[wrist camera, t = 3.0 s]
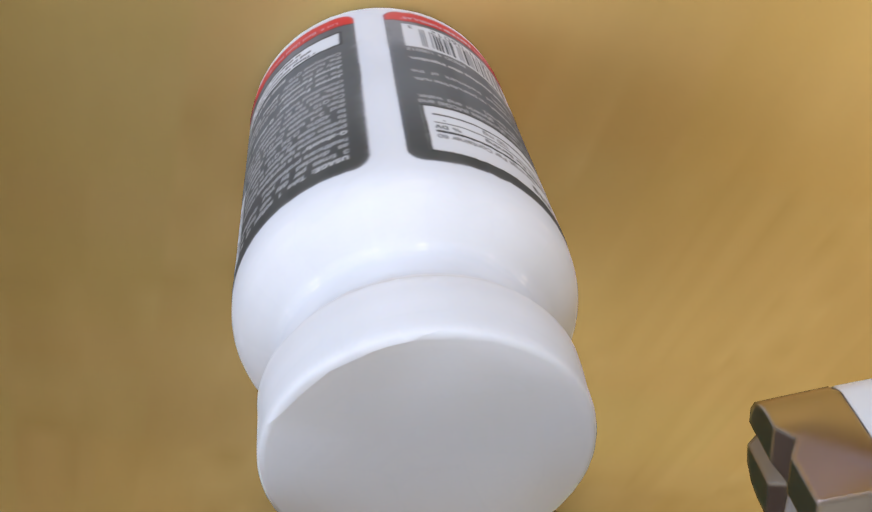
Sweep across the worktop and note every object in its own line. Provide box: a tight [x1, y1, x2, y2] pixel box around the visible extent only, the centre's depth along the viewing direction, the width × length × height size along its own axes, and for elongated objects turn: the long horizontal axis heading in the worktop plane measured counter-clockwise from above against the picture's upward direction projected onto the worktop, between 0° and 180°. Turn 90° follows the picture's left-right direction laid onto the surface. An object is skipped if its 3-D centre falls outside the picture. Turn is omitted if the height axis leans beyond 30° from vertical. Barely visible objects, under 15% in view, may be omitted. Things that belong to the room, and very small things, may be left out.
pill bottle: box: [232, 8, 597, 512], centre depth 15 cm, size 6×6×10 cm
